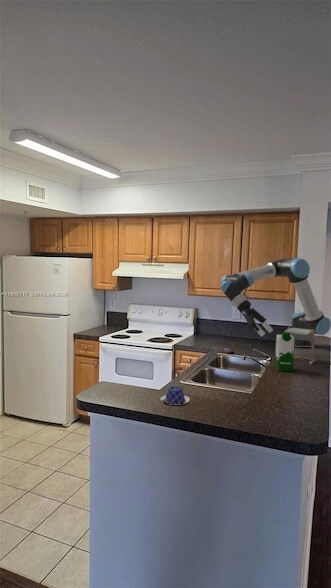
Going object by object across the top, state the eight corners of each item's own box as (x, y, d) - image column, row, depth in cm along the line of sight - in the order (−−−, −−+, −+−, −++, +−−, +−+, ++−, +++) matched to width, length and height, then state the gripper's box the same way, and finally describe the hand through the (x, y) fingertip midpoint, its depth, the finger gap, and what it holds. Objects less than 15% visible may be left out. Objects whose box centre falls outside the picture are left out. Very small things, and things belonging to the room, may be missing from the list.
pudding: (157, 396, 156) (157, 384, 156) (184, 394, 159) (185, 382, 159) (164, 407, 145) (164, 394, 144) (193, 405, 148) (193, 392, 147)
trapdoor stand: (289, 357, 225) (290, 325, 223) (315, 360, 217) (316, 328, 215) (284, 360, 216) (285, 328, 214) (311, 364, 208) (312, 330, 206)
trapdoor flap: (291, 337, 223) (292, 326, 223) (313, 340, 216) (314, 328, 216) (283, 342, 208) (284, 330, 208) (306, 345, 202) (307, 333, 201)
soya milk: (277, 371, 194) (278, 333, 193) (273, 366, 203) (275, 330, 202) (294, 372, 193) (296, 333, 192) (290, 367, 202) (291, 330, 201)
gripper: (245, 306, 221) (269, 334, 214) (228, 310, 200) (254, 341, 193) (254, 297, 217) (279, 325, 210) (237, 300, 196) (264, 332, 189)
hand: (267, 333), depth 201 cm, fingers open, 13 cm apart
